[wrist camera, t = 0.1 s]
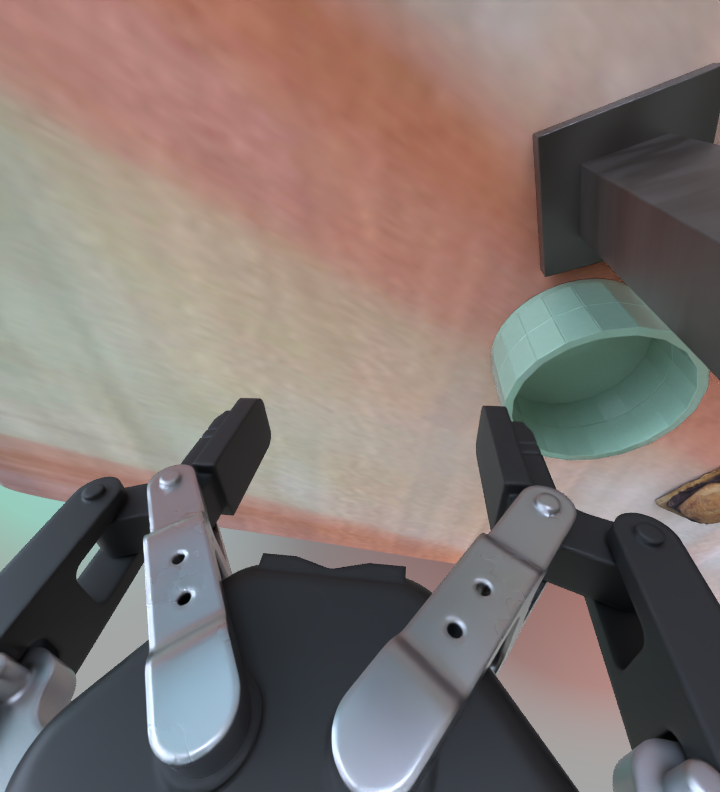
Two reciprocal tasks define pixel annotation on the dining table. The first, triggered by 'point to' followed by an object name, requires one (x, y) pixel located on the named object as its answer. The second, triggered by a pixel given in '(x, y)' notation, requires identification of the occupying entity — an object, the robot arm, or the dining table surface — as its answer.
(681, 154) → the stand
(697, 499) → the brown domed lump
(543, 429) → the pot
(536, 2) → the dining table surface
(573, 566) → the robot arm
